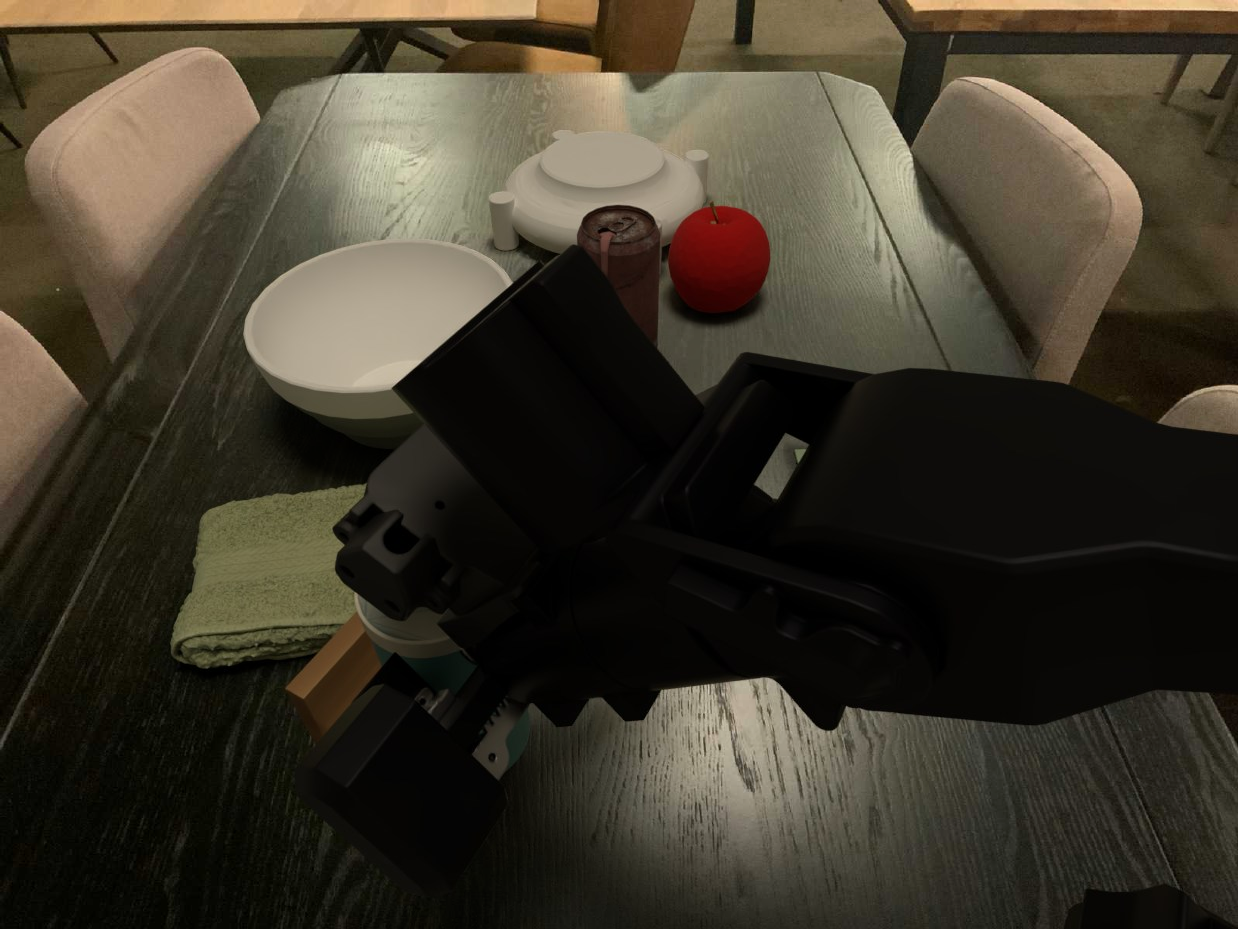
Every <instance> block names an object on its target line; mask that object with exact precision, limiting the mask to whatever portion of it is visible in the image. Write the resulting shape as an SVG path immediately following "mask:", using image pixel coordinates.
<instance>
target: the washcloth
mask: <svg viewBox="0 0 1238 929" xmlns="http://www.w3.org/2000/svg"><path fill="white" fill-rule="evenodd" d="M366 484H367V482H366V483H363V484H353V485H348V486H345V485H342V486H340V487H337V488H333V487H329V488H328V489H327V488H326V489H318V490H313V491H306V492H303V491H301V492H298V493H296V494H289V493H286V492H285V493H278V492H277V493H274V494H273V495H264V496H262V497H261V496H260V497H255V498H249V499H246V500H245V499H242V500H237V501H236V500H231V501H230V502H227V503H225V504H222V505H219V506H215V507H212V508H210V509H208V510H207V511H206V512H205V513H204V514H203V515H202V516H201V518H200V520H199V527H198V534H197V540H196V547H195V550H196V551H195V556H194V557H193V559H192V566H193V572H194V573H195V574H194V576H193V583H192V587H191V592H190V593H189V594H188V595H187V596H186V598H185V599H184V601H183V602H184V603H183V604H182V605H181V606H180V608H179V611H180V612H179V613H178V615H177V618H176V621H175V622H174V625H173V628H172V629H173V632H172V637H171V638H170V653H171V654H170V655H171V656H172V658H173V659H175V660H176V661H177V662H180V663H183V664H188V665H194V666H196V667H198V668H199V669H209V668H212V669H215V668H217V669H218V668H220V667H225V666H227V667H232V666H236V665H239V664H241V663H242V662H254V661H263V660H274V661H282V660H288V659H295V658H300V657H307V656H310V655H315V654H317V653H318V652H319V651H320V650H321V649H322V648H323V647H324V646H325V645H326V644H327V643H328V642H329V641H330V639H331V638H332V637H333V636H334V635H335V634H336V633H337V632H338V631H339V630H340V629H341V628H342V627H343V626H344V624H345V623H346V622H347V621H348V620H349V619H350V618H351V617H352V616H353V615H354V614H355V613H356V612H357V610H356V606H355V602H354V591H353V590H352V589H350V588H349V587H348V586H346V585H345V584H344V583H343V582H342V581H341V580H340V578H339V577H338V575H337V574H336V572H335V562H336V557H337V553H338V551H339V550H340V549H341V548H342V547H343V546H344V544H343V543H342V542H341V541H339V540H338V538H337V537H336V536H335V535H334V533H333V530H332V527H333V526H334V525H335V524H336V523H337V522H338V521H340V519H341V518H342V517H343V516H344V515H346V514H347V513H348V512H349V511H350V509H351V508H352V507H353V506H354V505H355V504H356V503H357V502H358V501H359V500H360V499H361V498H362V497H364V493H365V488H366Z"/></svg>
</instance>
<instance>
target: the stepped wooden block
mask: <svg viewBox="0 0 1238 929" xmlns="http://www.w3.org/2000/svg"><path fill="white" fill-rule="evenodd" d="M380 668H381V664H380V661H379V659H378V656H377V654H376V651H375V649H374V646H373V644H372V641H371V638H370V637H369V636H368V634H367V633H366V631H365V630H364V628H363V625H362V623H361V620H360V618H359V615H358V613H357V612H356V613H355V614H354V615H353V616H352V617H351V618H350V619H349V620H348V621H347V622H346V623H345V624H344V626H343V627H342V628H341V629H340V630H339V631H338V632H337V633H336V634H335V635H334V636H333V637H332V638H331V639H330V641H329V642H328V643H327V644H326V645H325V646H324V647H323V648H322V649H321V650H320V651H319V652H318V653H316V654H315V655H314V656H313V658H312V659H311V660H310V661H309V662H308V663H307V664H306V665H305V666H304V667H303V668H302V669H301V670H300V671H299V673H298V674H297V675H296V676H295V677H294V678H293V679H292V680H291V681H290V682H289V684H287V685H286V687H285V691H286V693H287V695H288V697H289V698H290V700H291V702H292V704H293V706H294V708H295V709H296V712H297V713H298V715H299V717H300V719H301V721H302V723H303V724H304V726H305V728H306V730H307V731H308V733H309V735H310V738H311V739H312V741H313V743H314V746H315V745H316V744H317V742H318V741H319V740H320V739H321V738H322V737H323V735H324V734H325V733H326V732H327V731H328V730H329V728H330V727H331V726H332V725H333V724H334V723H335V721H336V720H337V719H338V718H339V717H340V716H341V714H342V713H343V712H344V711H345V710H346V709H347V707H348V706H349V705H350V704H351V703H352V701H353V700H354V699H355V697H356V696H357V695H358V694H359V693H360V692H361V690H362V689H363V688H364V687H365V686H366V685H367V683H368V682H369V681H370V680H371V679H372V678H373V676H374V675H375V674H376V673H377V672H378V671H379V669H380Z"/></svg>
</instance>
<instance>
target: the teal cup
mask: <svg viewBox="0 0 1238 929" xmlns="http://www.w3.org/2000/svg"><path fill="white" fill-rule="evenodd" d="M354 602H355V606H356V610H357V613H358V615H359V618H360V620H361V623H362V625H363V628H364V630H365V631H366V633H367V634H368V636H369V637H370V638H371V641H372V644H373V646H374V649H375V651H376V654H377V656H378V659H379V661H380V664H381V667H382V666H383V665H384V664H385V662H386V661H387V660H388V659H389V658H390V657H391V655H392V654H393V653H394V652H396V653H397V654H398V655H399V656H400V657H401V658H402V659H403V660H404V661H405V662H406V663H407V664H409V665H410V666H411V667H412V668H413V669H414V670H415V671H416V672H417V673H418V674H419V675H420V676H421V677H422V678H423V679H424V680H425V681H426V682H427V683H428V684H429V685H430V686H431V687H432V688H433V689H434V690H435V691H436V692H437V693H438V691H439V690H444V689H449V690H450V691H451V692H452V693H453V694H454V695H455V694H456V693H457V692H458V691H459V689H460V688H461V687H462V685H463V684H464V683H465V681H466V680H467V679H468V678H469V676H470V675H471V674H472V672H473V671H474V670H475V668H476V667H477V666H478V665H474V664H472V663H469V662H468V661H467V660H466V659H465V658H464V657H463V656H462V655H461V654H460V652H459V649H458V645H457V644H456V643H455V642H454V641H453V640H452V639H451V638H450V637H449V636H448V635H447V634H446V633H445V632H444V631H443V630H442V629H441V628H440V627H439V626H438V625H437V622H438V621H439V620H440V619H441V618H442V617H443V615H444V614H445V613H446V612H447V611H448V609H449V608H448V609H447V610H446V612H445V613H444V614H437V613H435V612H433V611H431V610H430V609H428V608H426V607H419V608H417V609H416V610H415V611H414V612H413V613H412V614H411V615H410V616H409V618H408V619H407V620H406V621H397V620H393V619H390V618H388V617H387V616H386V615H384V614H383V613H382V612H380V611H379V610H378V609H377V608H375V607H374V606H373V605H371V604H370V603H369V602H367V601H366V600H365V599H363V598H362V597H361V596H359V595H358V594H357V593H356V592H354ZM506 697H508V696H506ZM499 705H500V706H502V704H501V703H500V704H499ZM493 714H495V715H496V713H495V711H494V713H493ZM487 723H489V724H490V722H489V720H488V721H487ZM479 733H484V732H483V730H482V729H481V731H480V732H479ZM530 733H531V718H530V712H529V707H528V708H527V709H526V711H525V712H524V714H523V715H522V716H521V718H520V719H519V721H518V722H517V724H516V725H515V727H514V728H513V729H512V731H511V732H510V734H509V735H508V737H507V739H506V744H507V747H508V750H509V757H510V759H509V764H508V766H507V768H506V770H505V772H506V771H508V770H509V769H510V768H511V767H512V766H514V764H515V763H516V762H517V761H518V760H519V758H520V757H521V755H522V754H523V752H524V750H525V749H526V746H527V743H528V741H529V738H530Z"/></svg>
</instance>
